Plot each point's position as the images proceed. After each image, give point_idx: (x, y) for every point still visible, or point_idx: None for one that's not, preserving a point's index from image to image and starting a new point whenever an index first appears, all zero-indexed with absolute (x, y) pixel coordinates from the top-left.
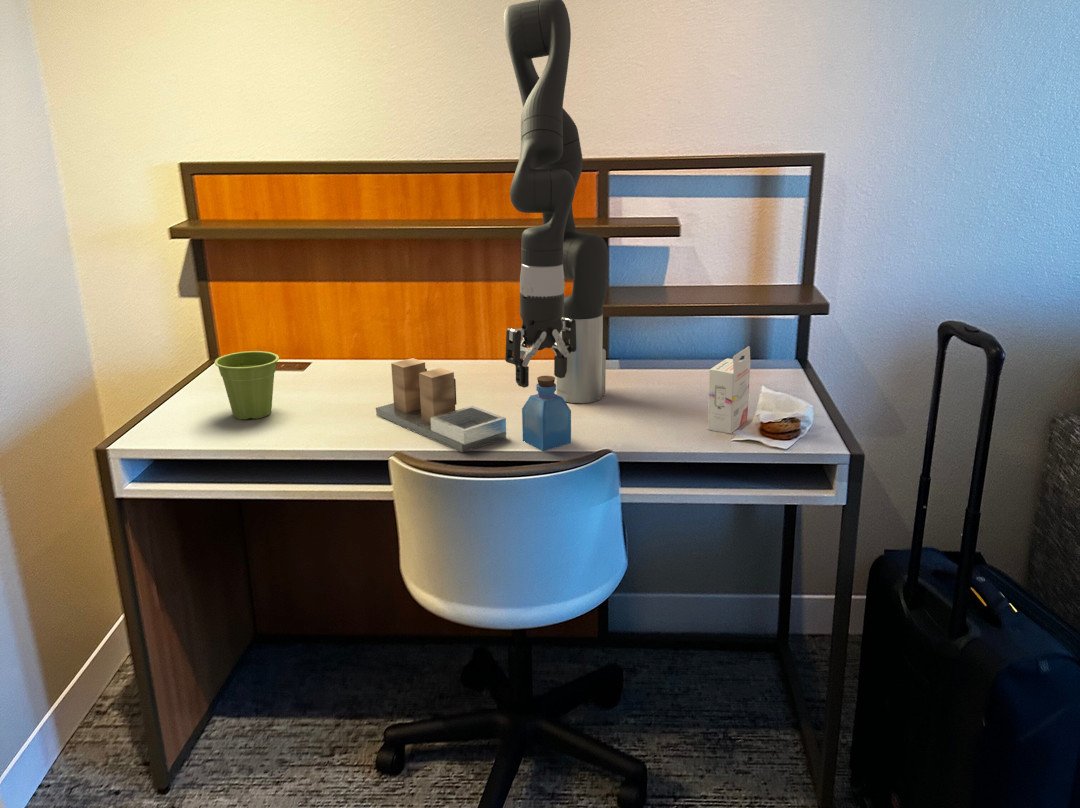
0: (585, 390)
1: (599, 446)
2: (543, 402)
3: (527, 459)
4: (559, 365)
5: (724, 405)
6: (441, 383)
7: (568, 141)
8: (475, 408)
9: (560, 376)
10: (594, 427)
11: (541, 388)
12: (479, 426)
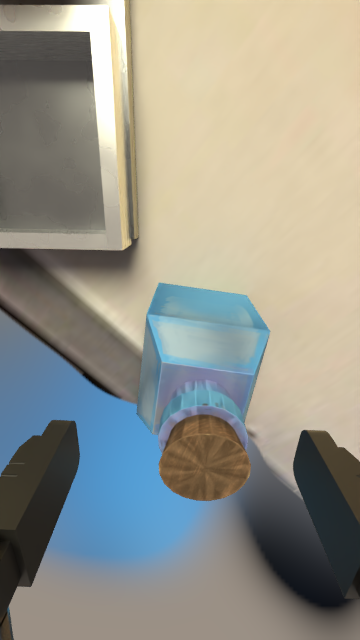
0: None
1: (255, 417)
2: (151, 431)
3: (95, 368)
4: (325, 517)
5: None
6: None
7: None
8: (95, 60)
9: (297, 466)
10: (350, 341)
11: (161, 447)
12: (9, 247)
